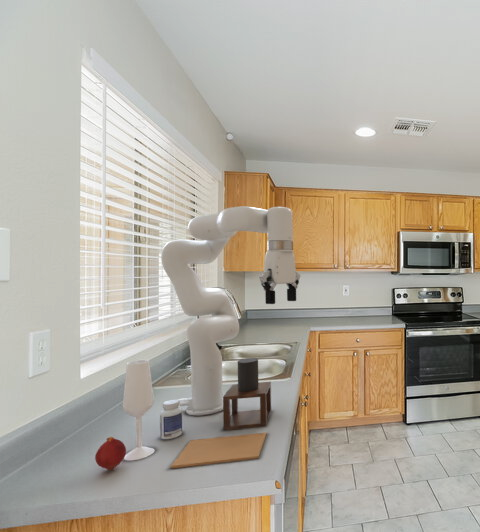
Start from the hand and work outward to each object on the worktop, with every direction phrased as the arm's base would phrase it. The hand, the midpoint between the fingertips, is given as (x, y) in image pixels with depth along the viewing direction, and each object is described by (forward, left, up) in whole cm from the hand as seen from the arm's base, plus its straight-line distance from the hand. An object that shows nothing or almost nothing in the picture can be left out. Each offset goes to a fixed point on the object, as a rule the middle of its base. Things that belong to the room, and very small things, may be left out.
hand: (281, 302), depth 116 cm
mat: (-14, -15, -37) cm, 42 cm away
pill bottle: (-31, -2, -38) cm, 49 cm away
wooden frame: (-11, +4, -37) cm, 39 cm away
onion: (-38, -19, -38) cm, 56 cm away
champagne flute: (-35, -12, -38) cm, 53 cm away
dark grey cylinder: (-11, +4, -27) cm, 30 cm away
